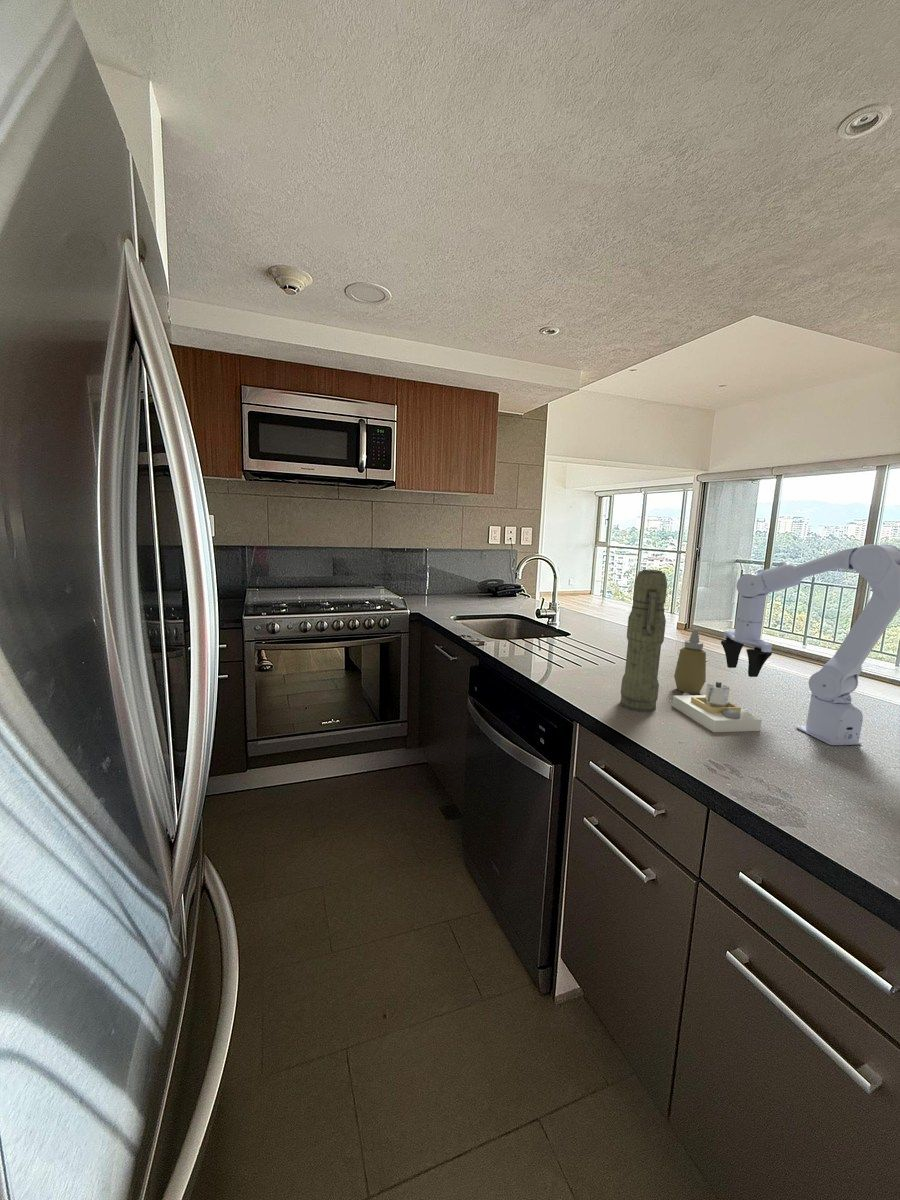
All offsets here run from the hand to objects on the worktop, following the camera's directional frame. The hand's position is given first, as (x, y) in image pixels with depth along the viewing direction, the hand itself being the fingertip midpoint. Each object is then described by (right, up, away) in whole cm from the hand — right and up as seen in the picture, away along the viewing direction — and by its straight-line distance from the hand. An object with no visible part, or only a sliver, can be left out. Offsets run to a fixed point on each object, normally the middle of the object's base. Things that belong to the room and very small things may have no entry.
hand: (741, 671), depth 128 cm
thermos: (-27, -9, -1) cm, 29 cm away
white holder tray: (-12, -10, -5) cm, 16 cm away
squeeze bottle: (-8, -7, +12) cm, 16 cm away
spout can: (-11, -10, -7) cm, 17 cm away
